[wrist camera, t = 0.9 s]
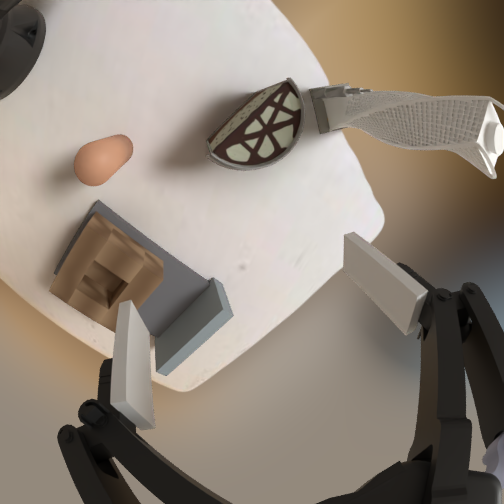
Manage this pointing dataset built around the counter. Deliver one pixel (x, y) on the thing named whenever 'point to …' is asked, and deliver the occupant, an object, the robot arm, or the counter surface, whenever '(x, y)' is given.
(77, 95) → the counter surface
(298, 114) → the food container
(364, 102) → the skyscraper
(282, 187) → the counter surface
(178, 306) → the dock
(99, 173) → the dowel
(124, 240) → the block
